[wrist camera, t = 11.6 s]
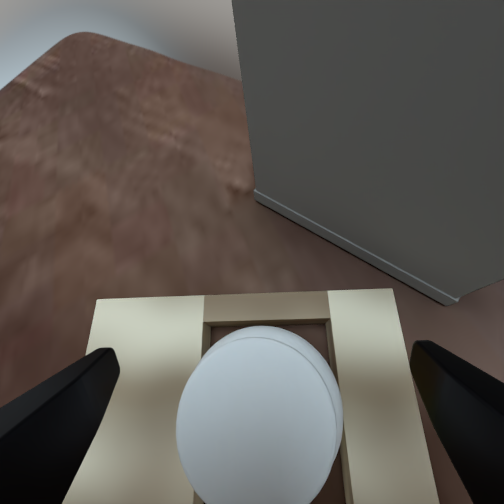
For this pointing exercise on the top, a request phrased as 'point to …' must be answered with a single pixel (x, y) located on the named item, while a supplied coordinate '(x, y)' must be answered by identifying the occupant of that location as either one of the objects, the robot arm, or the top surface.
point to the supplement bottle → (259, 420)
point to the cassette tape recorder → (383, 130)
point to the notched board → (194, 348)
